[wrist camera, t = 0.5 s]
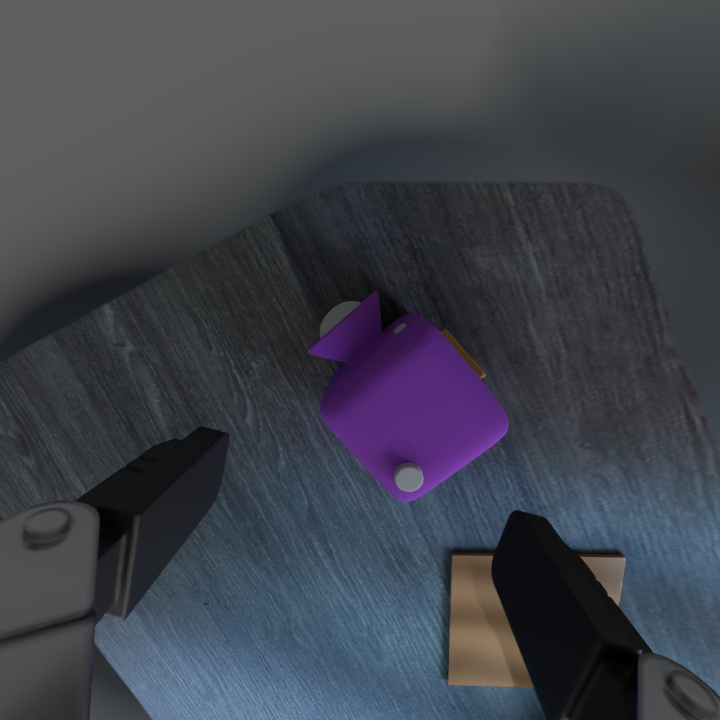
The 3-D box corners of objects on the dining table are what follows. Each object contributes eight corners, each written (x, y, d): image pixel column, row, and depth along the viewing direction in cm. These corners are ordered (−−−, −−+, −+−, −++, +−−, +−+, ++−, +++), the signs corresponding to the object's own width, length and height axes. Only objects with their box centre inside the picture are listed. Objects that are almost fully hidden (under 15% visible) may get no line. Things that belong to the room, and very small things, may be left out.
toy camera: (367, 266, 28) (361, 257, 18) (493, 369, 29) (550, 411, 20) (290, 367, 30) (249, 406, 20) (411, 458, 31) (426, 536, 22)
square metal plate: (451, 552, 33) (452, 555, 33) (623, 554, 32) (626, 557, 32) (447, 680, 37) (448, 685, 36) (603, 685, 36) (605, 690, 35)
